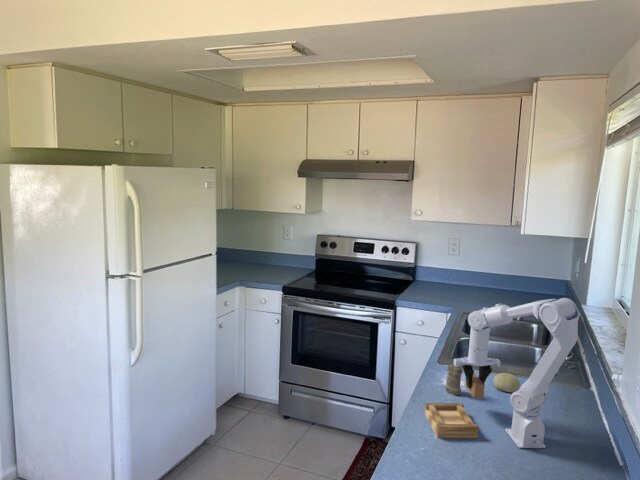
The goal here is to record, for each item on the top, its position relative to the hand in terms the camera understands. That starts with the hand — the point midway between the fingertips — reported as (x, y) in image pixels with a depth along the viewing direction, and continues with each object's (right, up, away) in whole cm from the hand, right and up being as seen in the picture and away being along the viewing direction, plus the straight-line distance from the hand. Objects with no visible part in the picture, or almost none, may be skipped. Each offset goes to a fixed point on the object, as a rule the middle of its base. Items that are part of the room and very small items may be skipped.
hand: (474, 386), depth 159 cm
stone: (-3, -6, +14) cm, 16 cm away
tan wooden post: (0, -2, 0) cm, 2 cm away
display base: (-10, -10, -7) cm, 15 cm away
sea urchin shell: (+17, -6, +20) cm, 27 cm away
